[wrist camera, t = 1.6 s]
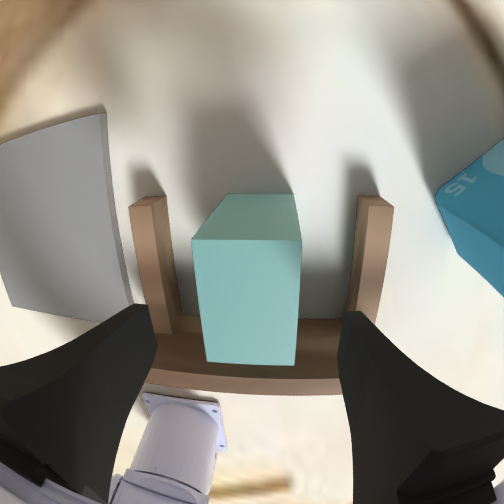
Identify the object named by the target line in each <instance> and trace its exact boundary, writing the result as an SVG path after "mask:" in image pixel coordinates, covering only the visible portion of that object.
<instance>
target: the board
mask: <svg viewBox="0 0 504 504" xmlns="http://www.w3.org/2000/svg"><path fill="white" fill-rule="evenodd" d="M0 273H1V276H2V279H3V282H4V285H5V288H6V291H7V294H8V296H9V299H10V302H11V304H12V306H14V307H19V308H23V309H28V310H33V311H38V312H43V313H48V314H54V315H59V316H65V317H71V318H77V319H83V320H89V321H96V322H104V321H105V320H107V319H109V318H110V317H112V316H113V315H115V314H117V313H118V312H120V311H121V310H123V309H125V308H126V307H128V306H130V305H132V304H134V302H133V298H132V294H131V289H130V285H129V280H128V276H127V271H126V266H125V261H124V256H123V251H122V246H121V240H120V234H119V228H118V222H117V216H116V209H115V202H114V195H113V187H112V178H111V169H110V158H109V147H108V132H107V113H99V114H94V115H90V116H86V117H82V118H79V119H75V120H71V121H68V122H64V123H61V124H57V125H54V126H51V127H47V128H44V129H41V130H38V131H35V132H32V133H29V134H26V135H24V136H21V137H18V138H15V139H13V140H10V141H7V142H5V143H2V144H0Z"/></svg>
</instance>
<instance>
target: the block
mask: <svg viewBox="0 0 504 504" xmlns="http://www.w3.org/2000/svg"><path fill="white" fill-rule="evenodd" d="M191 243H192V252H193V261H194V270H195V278H196V287H197V294H198V302H199V310H200V317H201V324H202V331H203V338H204V344H205V351H206V357H207V362H219V363H234V364H253V365H289V366H294V363H295V351H296V338H297V324H298V309H299V292H300V273H301V251H302V238H301V232H300V227H299V221H298V215H297V210H296V204H295V199H294V194H287V193H242V194H227V195H226V196H225V198H224V199H223V200H222V201H221V202H220V204H219V205H218V206H217V207H216V209H215V210H214V211H213V212H212V214H211V215H210V216H209V218H208V219H207V220H206V221H205V223H204V224H203V225H202V226H201V228H200V229H199V230H198V232H197V233H196V234H195V235H194V237H193V238H192V239H191Z"/></svg>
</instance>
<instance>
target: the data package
mask: <svg viewBox="0 0 504 504" xmlns="http://www.w3.org/2000/svg"><path fill="white" fill-rule="evenodd" d="M436 204H437V206H438V208H439V210H440V212H441V215H442V217H443V219H444V222H445V224H446V226H447V229H448V231H449V233H450V236H451V238H452V241H453V243H454V246H455V249H456V251H457V253H458V255H459V256H460V257H461V258H463V259H464V260H465V261H466V262H467V263H468V264H469V265H470V266H472V267H473V268H474V269H475V270H476V271H477V272H478V273H479V274H480V275H481V276H482V277H483V278H484V279H485V280H487V281H488V282H489V283H490V284H491V285H492V286H493V287H494V288H495V289H496V290H497V291H498V292H499V293H500V294H501V295H502V296H503V297H504V139H502V140H501V141H500V142H499V143H497V144H496V145H495V146H494V147H493V148H491V149H490V150H489V151H487V152H486V153H485V154H484V155H482V156H481V157H480V158H479V159H477V160H476V161H475V162H473V163H472V164H471V165H470V166H468V167H467V168H466V169H464V170H463V171H462V172H460V173H459V174H458V175H457V176H455V177H454V178H453V179H451V180H450V181H449V182H447V183H446V184H445V185H443V186H442V187H441V188H440V189H439V191H438V192H437V194H436Z"/></svg>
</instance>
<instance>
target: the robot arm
mask: <svg viewBox="0 0 504 504" xmlns="http://www.w3.org/2000/svg"><path fill="white" fill-rule="evenodd" d="M157 348H158V344H157V340H156V336H155V333H154V329H153V324H152V320H151V316H150V312H149V307H148V305H146V304H132V305H130V306H128V307H126V308H125V309H123V310H121V311H120V312H118V313H117V314H115V315H113V316H112V317H110V318H109V319H107V320H105V321H104V322H102V323H101V324H99V325H97V326H96V327H94V328H93V329H91V330H89V331H88V332H86V333H84V334H82V335H81V336H79V337H77V338H75V339H74V340H72V341H70V342H68V343H66V344H64V345H62V346H60V347H58V348H56V349H54V350H51V351H49V352H47V353H44V354H41V355H39V356H36V357H33V358H30V359H28V360H25V361H21V362H18V363H14V364H10V365H6V366H1V367H0V504H208V502H209V498H210V496H208V493H209V491H210V488H211V484H212V479H213V474H214V469H215V464H216V460H217V455H218V451H222V452H225V451H227V443H226V437H225V432H224V426H223V421H222V415H221V409H220V405H219V404H218V403H215V402H206V401H197V400H189V399H182V398H175V397H168V396H162V395H156V394H150V393H143V395H142V399H143V401H144V403H145V406H146V408H147V410H148V413H149V415H150V419H149V422H148V424H147V426H146V429H145V431H144V434H143V436H142V439H141V441H140V444H139V446H138V449H137V451H136V454H135V456H134V459H133V461H132V464H131V466H130V469H126V471H125V474H124V476H122V475H120V474H115V475H113V476H112V473H113V468H114V463H115V458H116V454H117V450H118V447H119V443H120V439H121V436H122V433H123V430H124V426H125V423H126V420H127V418H128V415H129V413H130V410H131V408H132V406H133V404H134V402H135V400H136V398H137V396H138V394H139V392H140V390H141V388H142V386H143V384H144V382H145V380H146V377H147V375H148V373H149V371H150V369H151V367H152V364H153V361H154V358H155V354H156V351H157ZM337 361H338V371H339V379H340V384H341V388H342V393H343V398H344V402H345V407H346V411H347V416H348V421H349V426H350V432H351V441H352V456H353V504H504V482H502V483H501V484H499V485H497V486H496V487H494V488H493V486H492V482H491V481H493V480H494V479H495V477H496V475H495V472H494V470H493V468H494V467H495V466H496V465H497V464H498V463H499V462H500V461H501V460H502V459H503V458H504V410H501V409H498V408H495V407H492V406H489V405H486V404H483V403H481V402H479V401H477V400H474V399H472V398H470V397H468V396H466V395H464V394H462V393H460V392H458V391H456V390H454V389H453V388H451V387H449V386H448V385H446V384H444V383H442V382H441V381H439V380H438V379H436V378H435V377H433V376H432V375H430V374H429V373H428V372H426V371H425V370H423V369H422V368H421V367H419V366H418V365H417V364H416V363H414V362H413V361H412V360H411V359H410V358H408V357H407V356H406V355H405V354H404V353H403V352H401V351H400V350H399V349H398V348H397V347H396V346H395V345H394V344H393V343H392V342H391V341H390V340H389V339H388V338H387V337H386V336H385V335H384V334H383V333H382V332H381V331H380V330H379V329H378V328H377V327H376V326H375V325H374V324H373V323H372V322H371V321H370V320H369V319H368V318H367V316H366V315H365V314H364V313H363V312H362V311H344V317H343V323H342V329H341V335H340V340H339V346H338V351H337Z"/></svg>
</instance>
